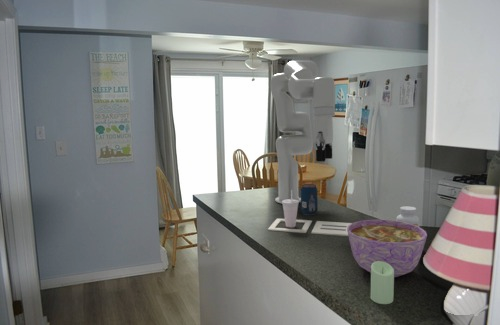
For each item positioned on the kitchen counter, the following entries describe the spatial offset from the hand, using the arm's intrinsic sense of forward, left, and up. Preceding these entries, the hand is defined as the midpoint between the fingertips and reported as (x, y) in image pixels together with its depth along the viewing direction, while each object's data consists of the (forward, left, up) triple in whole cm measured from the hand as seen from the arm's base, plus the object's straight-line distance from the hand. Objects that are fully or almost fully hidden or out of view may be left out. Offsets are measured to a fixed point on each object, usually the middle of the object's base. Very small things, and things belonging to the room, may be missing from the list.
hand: (324, 159), depth 140 cm
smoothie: (+2, -13, -25) cm, 28 cm away
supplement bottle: (+16, +27, -26) cm, 41 cm away
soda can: (-17, -9, -26) cm, 32 cm away
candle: (+52, +19, -26) cm, 61 cm away
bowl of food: (+36, +20, -26) cm, 48 cm away
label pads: (+2, -5, -25) cm, 26 cm away
